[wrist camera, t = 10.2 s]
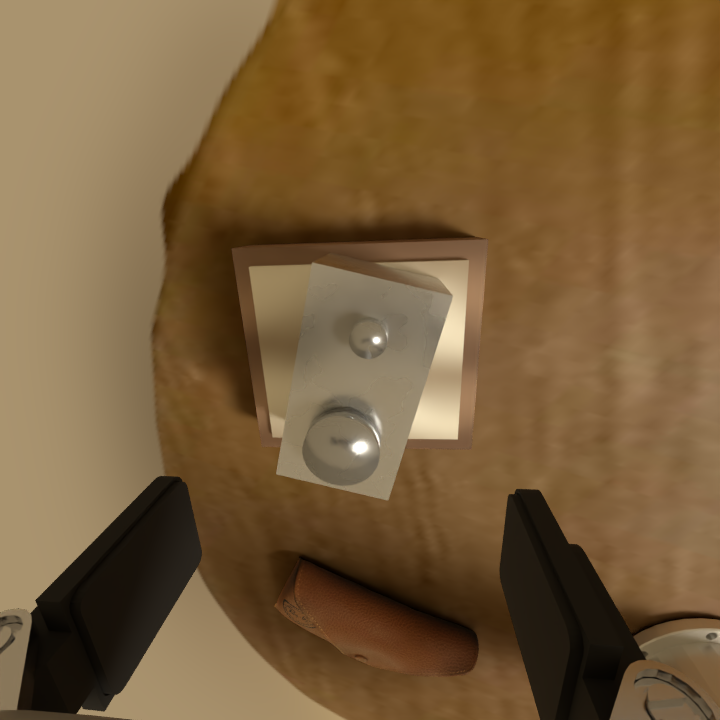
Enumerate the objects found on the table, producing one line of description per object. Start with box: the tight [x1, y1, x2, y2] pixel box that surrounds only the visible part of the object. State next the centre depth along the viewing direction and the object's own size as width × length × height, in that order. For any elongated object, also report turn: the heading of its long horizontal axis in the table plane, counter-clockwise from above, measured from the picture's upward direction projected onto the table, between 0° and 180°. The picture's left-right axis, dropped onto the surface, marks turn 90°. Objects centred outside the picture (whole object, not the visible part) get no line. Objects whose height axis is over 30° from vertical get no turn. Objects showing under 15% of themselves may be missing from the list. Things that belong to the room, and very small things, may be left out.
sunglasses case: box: [274, 557, 479, 677], centre depth 33 cm, size 18×7×7 cm
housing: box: [276, 253, 453, 500], centre depth 19 cm, size 6×11×6 cm, turn 167°
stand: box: [231, 237, 488, 449], centre depth 24 cm, size 13×14×3 cm
